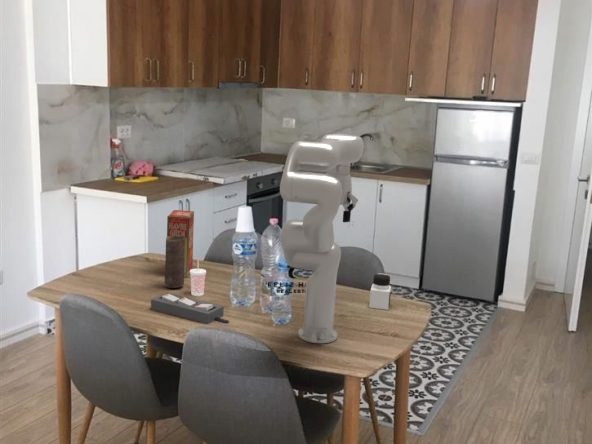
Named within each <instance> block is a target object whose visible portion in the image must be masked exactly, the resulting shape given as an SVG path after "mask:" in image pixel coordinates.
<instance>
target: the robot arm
mask: <svg viewBox="0 0 592 444" xmlns="http://www.w3.org/2000/svg"><path fill="white" fill-rule="evenodd" d="M364 145H365V144H364V140H363V138H362V137H361V136H358V135H350V134H347V133H329V134H325V135H324V136H322V137H321V139H320V140H319V142H318V141H317V142H316V141H305V140H299V141H298V140H297V141H296V142H294V143H293V144H292V145H291V147H290V149H289V151H288V154H287V157H286V161H285V165H284V168H283V172H282V176H281V179H280V185H279V193H280V197H281V198H282V199H283V200H284V201H286V202H289V203H298V204H309V205H315V206H313V207H311V208H310V209H309V210H308V211H307V212H306V213H305V214H304V216H303V218H302V219H295V218H293V219H288V220H286V222H285V223H283V225H282V227H281V228H282V229H281V232H280V243H281V248H282V253H283V256H284V260H285V262H286V264H287V266H288V267H291V268H295V269H302V270H303V269H304V270H311V271H314V272H313V273H312V274H311V275H310V276H309V277H308V279H307V280H306V283H305V291H304V307H303V308H304V310H303V324H302V327H301V328H299V329H298V331H297V336H298V337H299V339H301V340H302V341H305V342H308V343H312V344H328V343H333V342H334V341H336V340H337V339H338V332H337V331H336V330H334V321H335V320H334V318H335V317H334V316H335V302H336V292H337V291H336V289H337V278H338V271H339V265H340V262H341V258H342V257H341V256H342V251H341V247H340V245H339V244H338V243H336V242H335V235H334V234H335V233H334V226H333V225H334V224H333V222H334V220H335V218H336V217H337V214H338V212H339V209H340V206H343V207H342V208H343V209H344V210H343V214H342V222H343V223H350V221H351V213H352V210H353V209H354V208H355V207H356V205H357V203H359V202H358V201H359V200H358V198H357V197H355V195H353V194H352V189H353V187H352V186H353V184H352V177H351V175H350V172H351V164H353V163H357V162H359V160H360V159H362V156H363V155H364V154H363V153H364V151H365V150H364V148H365V147H364ZM299 171H306V172H299ZM307 172H308V173H307ZM309 172H318V173H309ZM325 172H326V173H325ZM320 173H325V174H320Z"/></svg>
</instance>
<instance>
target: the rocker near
mask: <svg viewBox="0 0 592 444" xmlns="http://www.w3.org/2000/svg"><path fill="white" fill-rule="evenodd" d="M213 304H214V303H212V304H199V305H197V306H195V308H198V309H202V310H206V311H207V310H210V309H212V308H213Z"/></svg>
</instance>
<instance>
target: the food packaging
mask: <svg viewBox="0 0 592 444" xmlns="http://www.w3.org/2000/svg"><path fill="white" fill-rule="evenodd" d="M194 216H195V211H194V210H181V209H180V210H178V209H174V210H172V212H171V213H169V215H167V217H166V218H167V220H166V221H167V223H166V225H167V227H166V238H167V237H169V236H170V237H171V236H177V235H182V236H185V258H184V279H186V278H189V276H190V270H191V269H194V267H193V262H194V261H193V260H194V259H193V257H194V256H193V255H194V253H193V251H194V226H195V225H194V222H195V217H194Z"/></svg>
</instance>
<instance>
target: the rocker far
mask: <svg viewBox="0 0 592 444" xmlns="http://www.w3.org/2000/svg"><path fill="white" fill-rule="evenodd" d="M171 294H172V293H171ZM171 294H166V295H164V296H162V299H163V300H166V301H170V302H176V301H178V300H180V298H177V297H175V296H173V295H171Z"/></svg>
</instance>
